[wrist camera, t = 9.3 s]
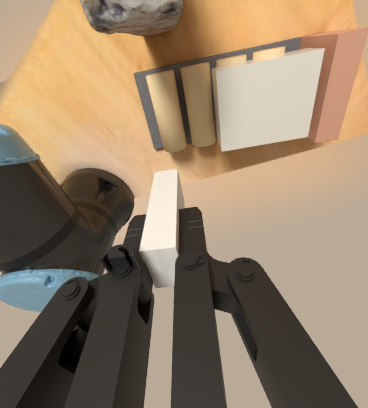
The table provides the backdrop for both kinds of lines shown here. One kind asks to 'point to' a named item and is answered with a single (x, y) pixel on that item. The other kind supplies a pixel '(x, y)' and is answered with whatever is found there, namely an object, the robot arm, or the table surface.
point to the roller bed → (180, 88)
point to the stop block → (334, 79)
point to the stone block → (133, 15)
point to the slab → (266, 98)
